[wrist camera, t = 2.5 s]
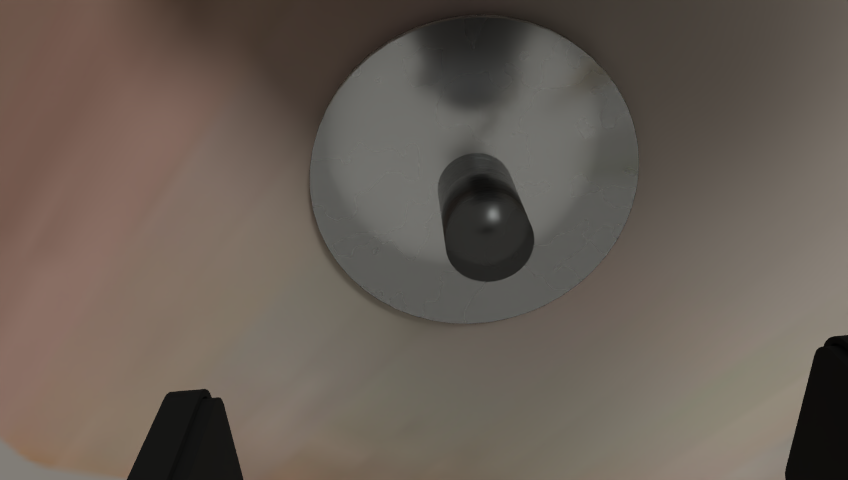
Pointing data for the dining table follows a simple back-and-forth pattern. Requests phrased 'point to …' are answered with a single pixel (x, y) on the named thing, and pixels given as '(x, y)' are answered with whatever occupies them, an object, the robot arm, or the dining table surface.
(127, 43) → the dining table surface
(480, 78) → the lid
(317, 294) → the dining table surface
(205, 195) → the dining table surface
